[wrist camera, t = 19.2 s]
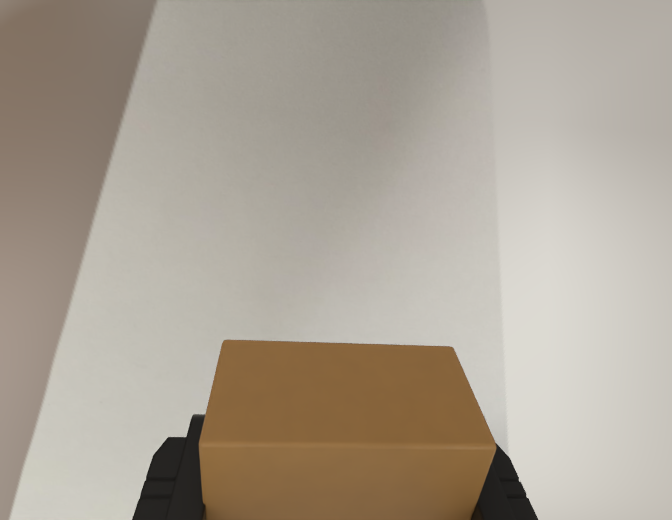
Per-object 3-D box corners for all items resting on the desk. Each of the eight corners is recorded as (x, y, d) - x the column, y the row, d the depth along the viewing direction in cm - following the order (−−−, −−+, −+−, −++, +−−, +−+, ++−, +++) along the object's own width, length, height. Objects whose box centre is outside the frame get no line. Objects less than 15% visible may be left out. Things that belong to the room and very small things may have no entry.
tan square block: (222, 338, 11) (197, 443, 8) (453, 344, 11) (499, 446, 9) (227, 492, 13) (209, 610, 11) (415, 492, 14) (442, 604, 11)
